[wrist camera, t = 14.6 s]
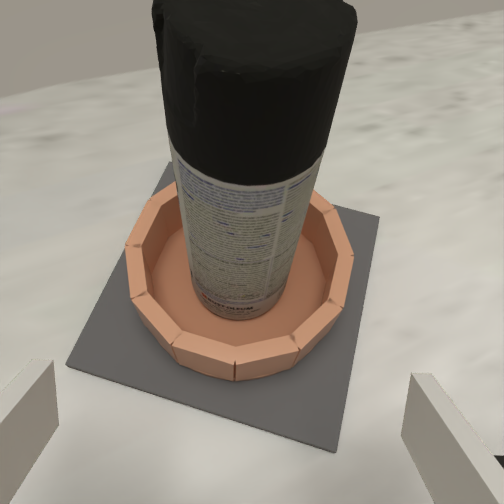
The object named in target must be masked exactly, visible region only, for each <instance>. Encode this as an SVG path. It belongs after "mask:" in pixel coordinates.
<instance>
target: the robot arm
mask: <svg viewBox="0 0 504 504" xmlns="http://www.w3.org/2000/svg"><path fill="white" fill-rule="evenodd" d="M58 426H59V420H58V408H57V397H56V385H55V373H54V362H53V360H38V359H32V360H31V361H30V362H29V363H28V364H27V365H26V366H25V367H24V368H23V370H22V371H21V372H20V373H19V374H18V375H17V376H16V377H15V378H14V379H13V380H12V381H11V382H10V384H9V385H8V386H7V387H6V388H5V389H4V390H3V391H2V392H1V393H0V504H9V503H10V501H11V500H12V498H13V496H14V495H15V493H16V492H17V490H18V489H19V487H20V485H21V484H22V482H23V481H24V479H25V478H26V476H27V474H28V473H29V471H30V470H31V468H32V467H33V465H34V463H35V462H36V460H37V459H38V457H39V455H40V454H41V452H42V451H43V449H44V448H45V446H46V444H47V443H48V441H49V440H50V438H51V437H52V435H53V433H54V432H55V430H56V429H57V427H58ZM401 437H402V439H403V441H404V443H405V445H406V447H407V449H408V451H409V453H410V455H411V457H412V459H413V461H414V463H415V465H416V467H417V469H418V471H419V473H420V475H421V477H422V479H423V481H424V483H425V485H426V487H427V489H428V491H429V493H430V495H431V497H432V499H433V501H434V503H435V504H504V456H496V455H493V454H492V453H491V452H490V450H489V449H488V448H487V446H486V445H485V444H484V442H483V441H482V440H481V438H480V437H479V436H478V434H477V433H476V432H475V430H474V429H473V428H472V426H471V425H470V424H469V422H468V421H467V420H466V418H465V417H464V416H463V414H462V413H461V412H460V411H459V409H458V408H457V407H456V405H455V404H454V403H453V401H452V400H451V399H450V397H449V396H448V395H447V393H446V392H445V391H444V389H443V388H442V387H441V385H440V384H439V383H438V381H437V380H436V379H435V377H434V376H433V375H432V374H430V373H411V377H410V383H409V389H408V395H407V401H406V407H405V413H404V420H403V426H402V432H401Z"/></svg>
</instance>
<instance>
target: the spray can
mask: <svg viewBox="0 0 504 504" xmlns="http://www.w3.org/2000/svg"><path fill="white" fill-rule="evenodd" d="M152 18H153V28H154V31H155V36H156V44H157V53H158V61H159V68H160V72H161V84H162V93H163V101H164V109H165V116H166V125H167V130H168V138H169V144H170V151H171V157H172V163H173V170H174V177H175V181H176V189H177V195H178V200H179V206H180V212H181V218H182V224H183V230H184V236H185V242H186V249H187V255H188V261H189V268H190V274H191V281H192V285H193V288H194V291H195V293H196V295H197V297H198V298H199V300H200V301H201V302H202V304H203V305H204V306H205V307H206V308H207V309H208V310H209V311H210V312H212V313H213V314H215V315H217V316H219V317H222V318H225V319H230V320H237V321H238V320H249V319H253V318H255V317H258V316H260V315H262V314H264V313H265V312H267V311H268V310H270V309H271V308H272V307H273V306H274V305H275V304H276V303H277V301H278V300H279V299H280V297H281V296H282V294H283V292H284V289H285V286H286V282H287V279H288V275H289V272H290V269H291V265H292V262H293V258H294V255H295V251H296V248H297V244H298V241H299V237H300V234H301V230H302V227H303V223H304V220H305V217H306V213H307V209H308V206H309V202H310V199H311V195H312V192H313V188H314V185H315V182H316V178H317V175H318V171H319V167H320V163H321V160H322V157H323V154H324V150H325V147H326V145H327V140H328V136H329V132H330V129H331V125H332V121H333V117H334V113H335V109H336V106H337V102H338V98H339V94H340V90H341V87H342V83H343V79H344V75H345V71H346V67H347V64H348V60H349V56H350V52H351V49H352V45H353V41H354V37H355V32H356V28H357V23H358V22H357V15H356V11H355V9H354V7H353V6H351V5H349V4H347V3H345V2H343V0H153V5H152Z"/></svg>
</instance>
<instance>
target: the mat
mask: <svg viewBox="0 0 504 504" xmlns="http://www.w3.org/2000/svg"><path fill="white" fill-rule="evenodd" d="M173 182H175V177H174V170H173V163H172V162H170V161H169V163H168V165H167V167H166V169H165V171H164V173H163V175H162V177H161V179H160V181H159V183H158V185H157V186H156V188H155V190H154V192H153V194H152V196H154V195H155V194H157V193H158V192H160V191H161V190H163V189H164V188H166V187H167V186H169V185H170V184H172V183H173ZM152 196H151V197H152ZM332 205H333V204H332ZM333 206H334V207H335V208H334V209H336V210H337V213H338V215H339V218H340V220H341V223H342V225H343V228H344V230H345V233H346V235H347V238H348V240H349V243H350V245H351V248H352V250H353V253H354V260H353V265H352V270H351V275H350V280H349V284H348V289H347V294H346V299H345V304H344V308H343V309H342V311H341V313H340V314H339V316H338V318H337V320H336V321H335V323H334V325H333V326H332V328H331V330H330V331H329V332H328V333H327V334H326V335H325V336H324V337H323V338H322V339H321V340H320V341H319V342H318V343H317V345H316V346H315V347H314V348H313V349H312V350H311V351H310V353H308V354H307V355H306V356H305V357H304V358H303V359H301V360H300V361H299V362H298V363H297V364H296V365H295V366H294V367H293V368H292V367H291V369H288V370H284V371H281V372H279V373H277V374H274V375H271V376H268V377H264V378H260V379H254V380H245V381H236V382H235V381H230V380H222V379H217V378H213V377H209V376H205V375H203V374H200V373H198V372H195V371H193V370H191V369H189V368H188V367H186V366H182V365H179V363H177V362H176V361H175V360H174V359H173V357H172V356H170V355H169V353H168V352H167V351H166V350H165V349H164V348H163V347H162V346H161V345H160V344H159V342H158V341H157V340H156V338H155V337H154V335H153V334H152V333H151V332H150V331H149V330H148V328H147V327H146V326H145V325H144V324H143V322H142V320H141V318H140V316H139V314H138V312H137V310H136V308H135V306H134V304H133V302H132V300H131V298H130V289H129V280H128V271H127V262H126V253H125V249H124V251H123V253H122V255H121V257H120V259H119V260H118V262H117V264H116V266H115V268H114V270H113V272H112V274H111V276H110V278H109V280H108V282H107V284H106V286H105V288H104V290H103V292H102V294H101V296H100V297H99V299H98V301H97V303H96V305H95V307H94V309H93V311H92V313H91V315H90V317H89V319H88V321H87V323H86V325H85V327H84V329H83V331H82V332H81V334H80V336H79V338H78V340H77V342H76V344H75V346H74V348H73V350H72V352H71V354H70V356H69V358H68V360H67V362H66V364H65V365H67V366H68V367H71V368H74V369H77V370H80V371H83V372H86V373H89V374H92V375H95V376H98V377H101V378H104V379H107V380H111V381H114V382H117V383H120V384H123V385H126V386H129V387H132V388H135V389H138V390H141V391H144V392H148V393H151V394H154V395H157V396H160V397H163V398H166V399H169V400H172V401H175V402H178V403H181V404H184V405H188V406H191V407H194V408H197V409H200V410H203V411H206V412H209V413H212V414H215V415H218V416H221V417H225V418H228V419H231V420H234V421H237V422H240V423H243V424H246V425H249V426H252V427H255V428H258V429H262V430H265V431H268V432H271V433H274V434H277V435H280V436H283V437H286V438H289V439H292V440H295V441H298V442H302V443H305V444H308V445H311V446H314V447H317V448H320V449H323V450H326V451H329V452H332V453H336V451H337V446H338V440H339V435H340V429H341V424H342V418H343V413H344V408H345V402H346V397H347V391H348V386H349V380H350V375H351V370H352V364H353V359H354V353H355V348H356V343H357V337H358V332H359V326H360V321H361V315H362V310H363V305H364V299H365V294H366V288H367V283H368V277H369V272H370V267H371V261H372V256H373V250H374V245H375V239H376V234H377V229H378V223H379V218H380V217H378V216H375V215H371V214H367V213H363V212H359V211H356V210H352V209H348V208H344V207H340V206H337V205H333Z"/></svg>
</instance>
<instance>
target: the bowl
mask: <svg viewBox="0 0 504 504" xmlns="http://www.w3.org/2000/svg"><path fill="white" fill-rule="evenodd" d="M149 199H150V200H148V201H147V203H146V205H145V207H144V209H143V210H142V212H141V214H140V216H139V218H138V220H137V222H136V224H135V226H134V228H133V230H132V232H131V234H130V236H129V238H128V240H127V241H126V243H125V245H126V246H125V253H126V262H127V271H128V280H129V289H130V298H131V300H132V302H133V304H134V306H135V308H136V310H137V312H138V314H139V316H140V318H141V320H142V322H143V324H144V325H145V326H146V327H147V328H148V330H149V331H150V332H151V333H152V334H153V335H154V337H155V338H156V340H157V341H158V342H159V344H160V345H161V346H162V347H163V348H164V349H165V350H166V351H167V352H168V353H169V355H170V356H172V357H173V359H174V360H175V361H176V362H177V363H179V365H182V366H186V367H188V368H189V369H191V370H193V371H195V372H198V373H200V374H203V375H205V376H209V377H213V378H217V379H222V380H230V381H235V382H236V381H245V380H254V379H260V378H264V377H268V376H271V375H274V374H277V373H279V372H281V371H284V370H288V369H291V367H292V368H293V367H294V366H295V365H296V364H297V363H298V362H299V361H300V360H301V359H303V358H304V357H305V356H306V355H307V354H308V353H310V351H311V350H312V349H313V348H314V347H315V346H316V345H317V343H318V342H319V341H320V340H321V339H322V338H323V337H324V336H325V335H326V334H327V333H328V332H329V331H330V330H331V328H332V326H333V325H334V323H335V321H336V320H337V318H338V316H339V314H340V313H341V311H342V309H343V308H344V304H345V299H346V294H347V289H348V284H349V280H350V275H351V270H352V265H353V260H354V253H353V250H352V248H351V245H350V243H349V240H348V238H347V235H346V233H345V230H344V228H343V225H342V223H341V220H340V218H339V215H338V213H337V210H336V209H334V208H335V207H334V206H333V205H332V204H330V203H329V202H328V201H327V200H326V199H324V198H323V197H322V196H321V195H319V194H318V193H317V192H316V191H315V190H313V192H312V195H311V199H310V202H309V206H308V209H307V213H306V217H305V220H304V223H303V227H302V230H301V234H300V237H299V241H298V244H297V248H296V251H295V255H294V258H293V262H292V265H291V269H290V272H289V275H288V279H287V282H286V286H285V289H284V292H283V294H282V296H281V297H280V299H279V300H278V301H277V303H276V304H275V305H274V306H273V307H272V308H271V309H270V310H268V311H267V312H265V313H264V314H262V315H260V316H258V317H255V318H253V319H249V320H238V321H237V320H230V319H225V318H222V317H219V316H217V315H215V314H213V313H212V312H210V311H209V310H208V309H207V308H206V307H205V306H204V305H203V304H202V302H201V301H200V300H199V298H198V297H197V295H196V293H195V291H194V288H193V285H192V281H191V274H190V268H189V261H188V255H187V249H186V242H185V236H184V230H183V224H182V218H181V212H180V206H179V200H178V195H177V189H176V181H175V182H173V183H172V184H170V185H169V186H167V187H166V188H164V189H163V190H161V191H160V192H158V193H157V194H155V195H154V196H152V197H151V198H149Z"/></svg>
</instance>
